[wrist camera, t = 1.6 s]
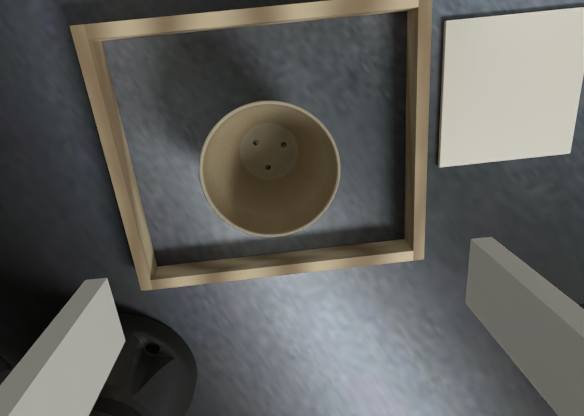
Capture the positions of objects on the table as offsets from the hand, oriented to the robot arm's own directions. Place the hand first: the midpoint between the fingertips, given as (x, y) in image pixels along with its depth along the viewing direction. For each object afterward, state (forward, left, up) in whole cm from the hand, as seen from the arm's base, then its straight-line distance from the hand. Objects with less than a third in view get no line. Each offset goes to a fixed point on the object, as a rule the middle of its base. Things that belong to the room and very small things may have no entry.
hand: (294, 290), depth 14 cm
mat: (+20, +3, -22) cm, 30 cm away
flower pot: (-1, 0, -22) cm, 22 cm away
